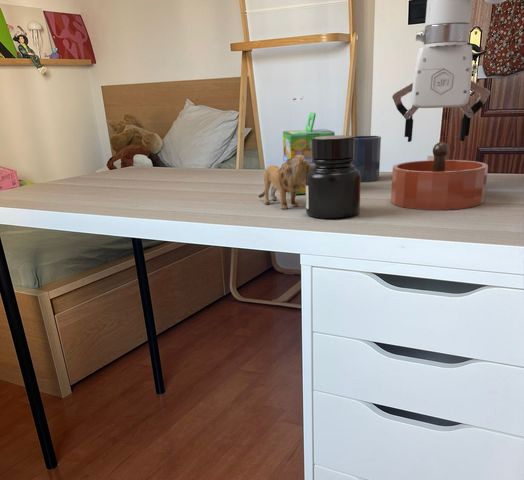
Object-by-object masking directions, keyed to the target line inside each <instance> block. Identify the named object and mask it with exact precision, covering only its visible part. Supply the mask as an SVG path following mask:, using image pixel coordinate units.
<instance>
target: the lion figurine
mask: <svg viewBox="0 0 524 480" xmlns="http://www.w3.org/2000/svg"><path fill="white" fill-rule="evenodd" d="M311 168H312V166H310V165H309V164H308V163H307V162H306V159H305V156H302V155H296V156H294V157H292V158H290V159H288V160H287V161H286V162H285V163H282V164H281V166H280V167H279V166H277V165H275V164H274V165H273V164H271V165H270V166H267V168H266V169H265V170H264V175H263V184H264V190H263V192H262V193H260V194H259V195H258V198H259V199H260V198H264V202H263V204H264V205H270V204H271V201H270V199H271V200H272V201H277V199H278V198H277V197H278V196H276V192H277V190H278V191H279V197H280V209H281V210H288V209H289V206H288V203H287V193H289V192H291V194H290V200H289V204H290V206H291V207H293V208H295V207H299V203H298V202H296V196H297V194H296V192H297V191H298V190H299V189H300V186H301V185H302V184H304V183H305V181H306V174H307V173H308V171H310V170H311ZM270 188H271V189H270Z"/></svg>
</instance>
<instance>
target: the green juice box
mask: <svg viewBox="0 0 524 480" xmlns="http://www.w3.org/2000/svg"><path fill="white" fill-rule="evenodd" d="M315 121H316V112H309V115H308V118H307V122H306V127H305V129H302V130H301V129H298V130H297V129H295V130H284V131H282V151H283V152H282V153H283V154H282V155H283V163H285V162H286V161H287V160H288V159H290V158H292V157H294V156H296V155H302V156H305V159H306V162H307V163H308V164H309V165H310V166H312V167H313V166H315V163H313V162H312V159H313V158H312V138H314V137H321V136H336V134H335V131H333V130H331V129H327V128H326V129H325V128H319V129H314V124H315ZM283 163H282V164H283ZM288 193H289V194H290V195H291V192H288ZM296 195H306V181H305V183H304V184H302V185H301V186H300V189H299V190H298V191H297V192H296Z"/></svg>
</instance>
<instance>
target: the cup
mask: <svg viewBox="0 0 524 480" xmlns="http://www.w3.org/2000/svg"><path fill="white" fill-rule="evenodd" d="M354 136H355V156H354V158H355V159H354V161H353V162H351V164H352V165H354V166H355V168H356V169H358V170H359V171H360V173H361V183H370V182H376V181H379V180H380V170H381V166H380V165H381V151H382V150H381V149H382V136H381V135H354Z"/></svg>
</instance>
